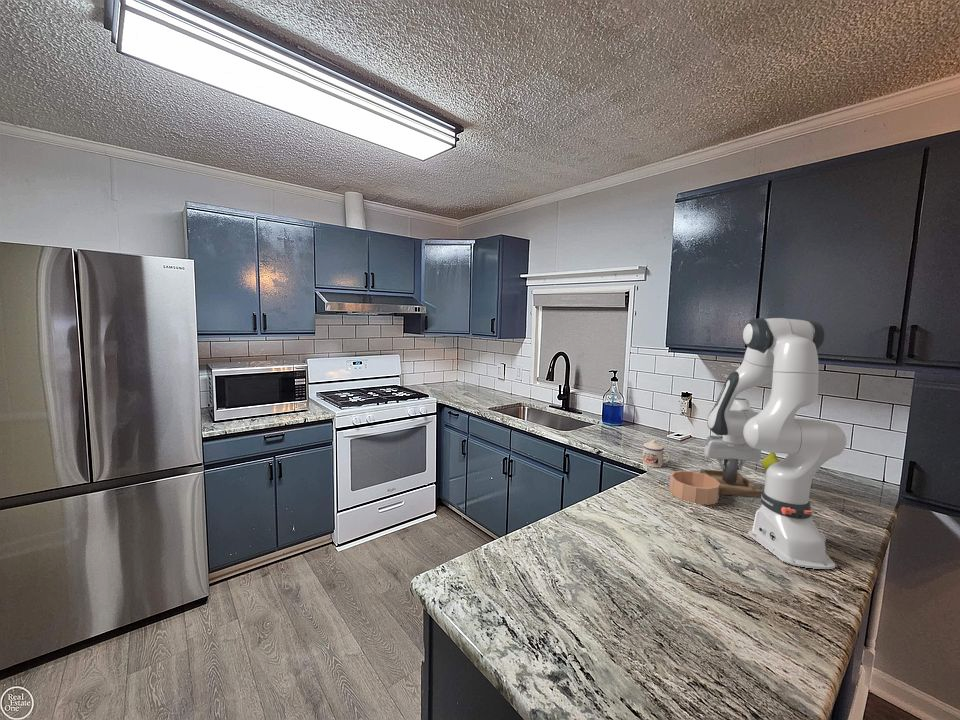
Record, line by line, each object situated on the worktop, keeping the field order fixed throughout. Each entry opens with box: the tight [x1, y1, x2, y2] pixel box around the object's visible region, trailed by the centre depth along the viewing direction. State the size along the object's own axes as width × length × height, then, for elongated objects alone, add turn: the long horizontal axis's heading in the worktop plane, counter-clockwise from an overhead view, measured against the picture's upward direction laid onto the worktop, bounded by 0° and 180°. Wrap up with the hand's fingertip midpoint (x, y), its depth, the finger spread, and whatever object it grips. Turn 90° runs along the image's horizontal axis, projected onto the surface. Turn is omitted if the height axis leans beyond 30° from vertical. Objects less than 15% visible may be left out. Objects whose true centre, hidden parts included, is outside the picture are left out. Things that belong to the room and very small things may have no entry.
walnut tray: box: [699, 469, 763, 499], centre depth 165 cm, size 20×15×2 cm
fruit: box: [761, 452, 781, 471], centre depth 180 cm, size 7×7×12 cm
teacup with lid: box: [642, 439, 671, 468], centre depth 186 cm, size 12×9×12 cm
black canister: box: [722, 459, 740, 483], centre depth 164 cm, size 5×5×10 cm
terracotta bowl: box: [668, 470, 720, 505], centre depth 156 cm, size 17×17×6 cm
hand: (730, 469), depth 164 cm, fingers open, 5 cm apart
